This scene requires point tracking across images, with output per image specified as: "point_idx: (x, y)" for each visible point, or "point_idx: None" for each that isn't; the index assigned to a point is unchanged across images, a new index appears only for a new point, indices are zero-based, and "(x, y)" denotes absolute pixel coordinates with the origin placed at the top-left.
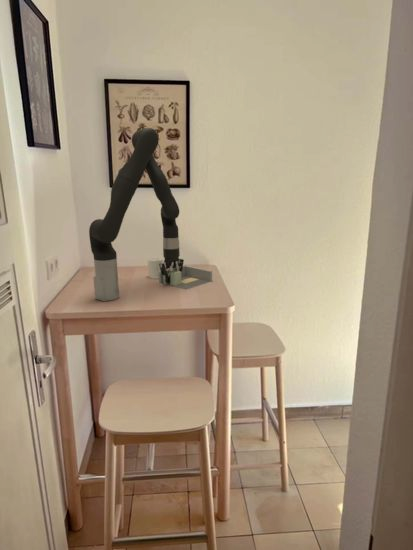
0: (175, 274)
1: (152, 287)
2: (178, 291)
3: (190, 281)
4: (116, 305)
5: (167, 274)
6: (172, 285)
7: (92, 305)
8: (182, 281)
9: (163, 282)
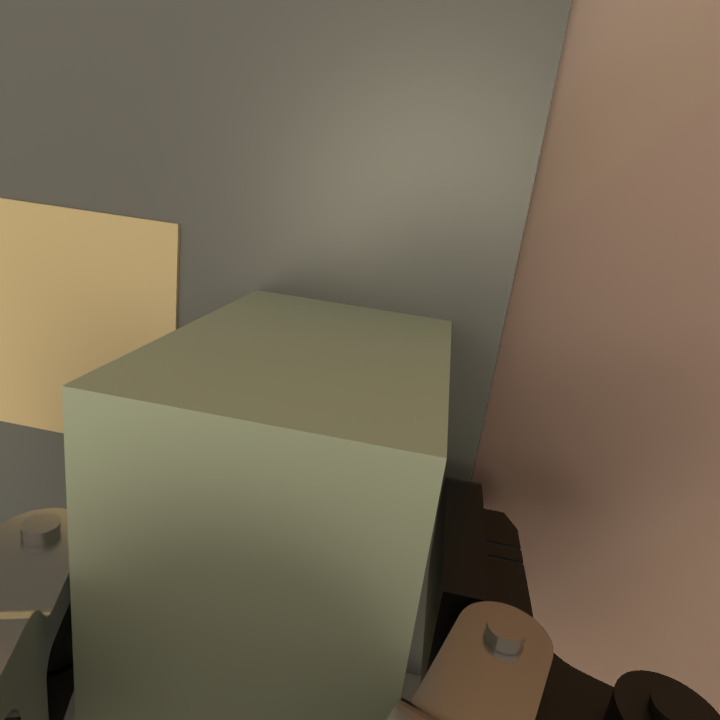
0: (414, 424)
1: None
2: (697, 36)
3: (4, 224)
4: None
5: (541, 690)
6: (461, 390)
7: None
8: None
9: None
